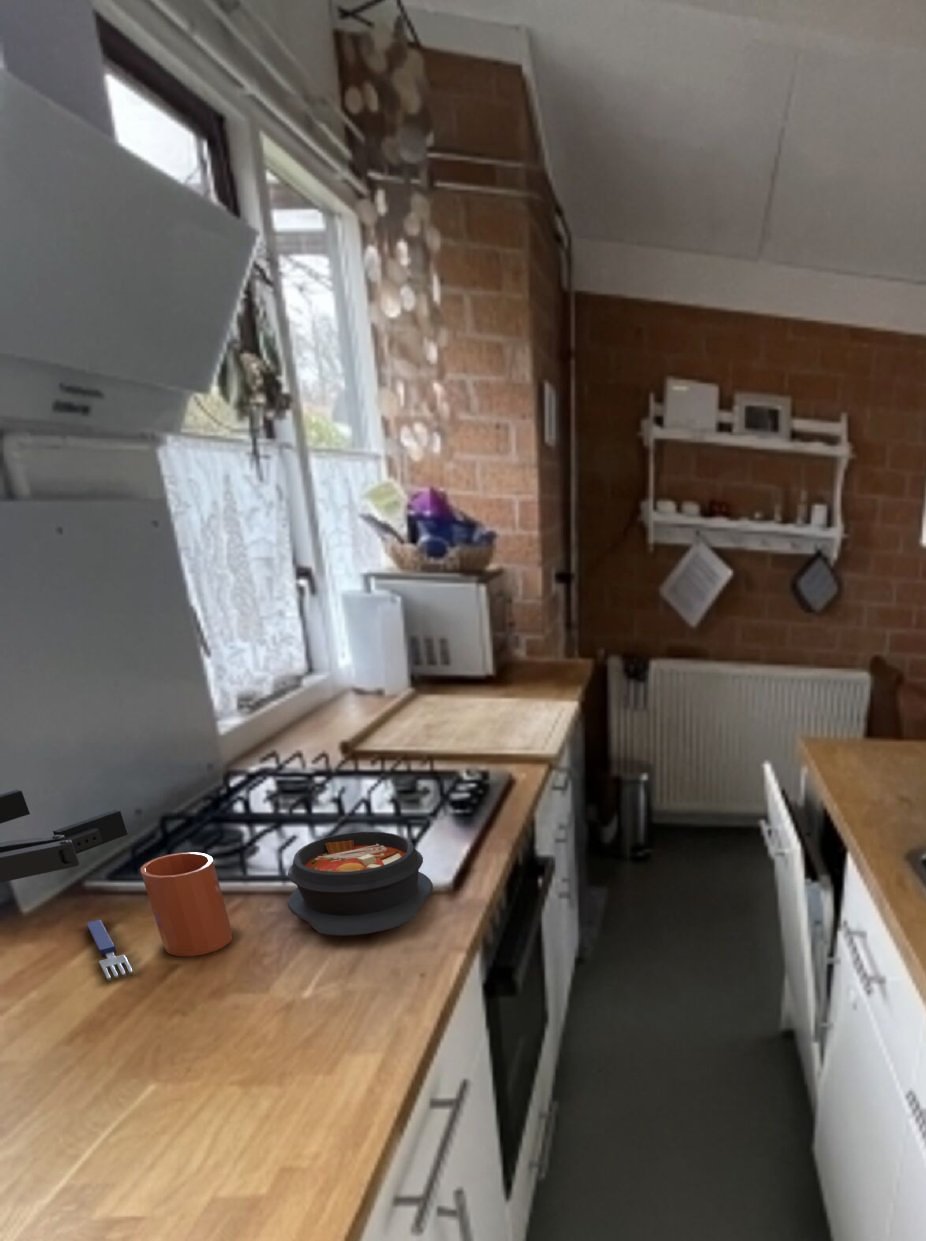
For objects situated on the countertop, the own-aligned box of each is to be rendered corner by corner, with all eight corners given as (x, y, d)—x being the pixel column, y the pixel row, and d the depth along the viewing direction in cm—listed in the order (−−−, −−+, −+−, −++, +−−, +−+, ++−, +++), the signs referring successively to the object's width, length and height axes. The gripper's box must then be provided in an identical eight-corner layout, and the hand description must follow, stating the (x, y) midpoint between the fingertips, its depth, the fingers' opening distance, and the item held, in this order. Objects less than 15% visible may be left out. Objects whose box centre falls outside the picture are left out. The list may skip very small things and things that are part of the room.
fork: (83, 930, 113) (80, 923, 112) (107, 924, 114) (105, 918, 114) (107, 981, 103) (105, 974, 102) (134, 974, 104) (132, 967, 104)
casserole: (290, 879, 129) (278, 826, 125) (424, 862, 137) (416, 812, 133) (290, 958, 109) (276, 899, 106) (446, 934, 117) (438, 877, 113)
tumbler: (177, 930, 114) (154, 853, 109) (240, 926, 116) (220, 851, 111) (155, 958, 108) (130, 878, 103) (222, 954, 109) (200, 875, 104)
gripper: (-250, 904, 80) (-4, 825, 98) (-47, 957, 74) (173, 863, 93) (-291, 828, 76) (-29, 761, 95) (-82, 878, 71) (154, 797, 89)
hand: (71, 811), depth 94 cm, fingers open, 13 cm apart
